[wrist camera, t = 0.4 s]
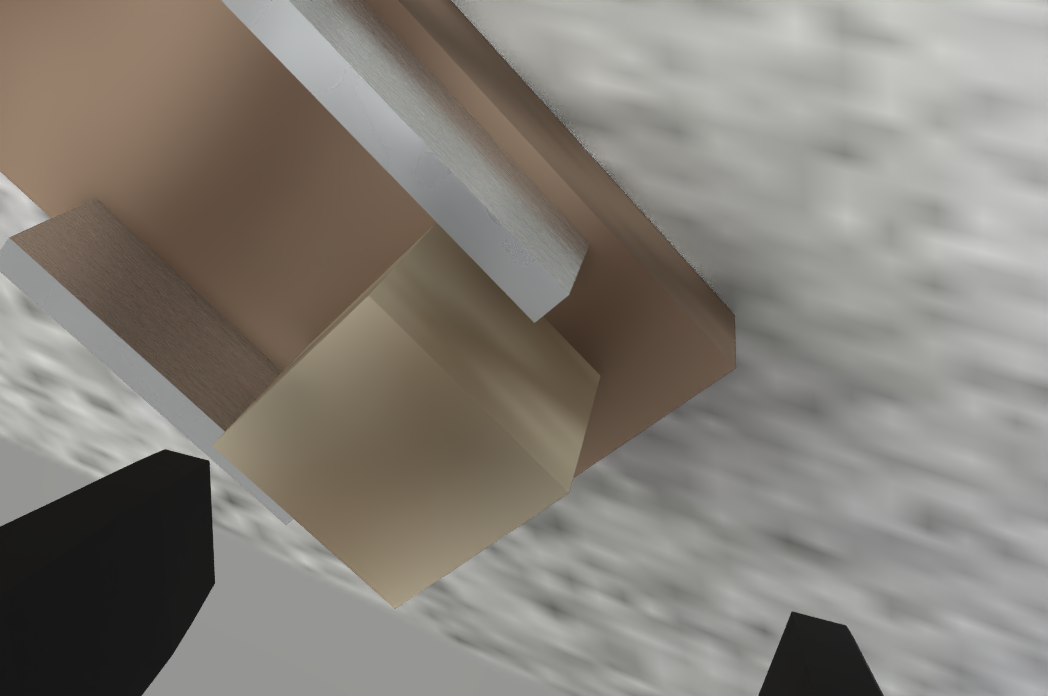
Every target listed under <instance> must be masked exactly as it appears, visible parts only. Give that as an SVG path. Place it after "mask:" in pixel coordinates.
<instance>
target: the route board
mask: <svg viewBox="0 0 1048 696" xmlns="http://www.w3.org/2000/svg"><path fill="white" fill-rule="evenodd" d="M365 1H366V2H367V3H368V4H369V6H370V7H371V8H372V9H373V10H374V11H375V12H376V13H377V14H378V15H379V16H380V17H381V18H382V20H383V21H384V22H385V23H386V24H387V25H388V26H389V27H390V28H391V29H392V30H393V31H394V32H395V34H396V35H397V36H398V37H399V38H400V39H401V40H402V41H403V42H404V43H405V44H406V45H407V46H408V48H409V49H410V50H411V51H412V52H413V53H414V54H415V55H416V56H417V57H418V58H419V59H420V60H421V62H422V63H423V64H424V65H425V66H426V67H427V68H428V69H429V70H430V71H431V72H432V73H433V74H434V76H435V77H436V78H437V79H438V80H439V81H440V82H441V83H442V84H443V85H444V86H445V87H446V88H447V90H448V91H449V92H450V93H451V94H452V95H453V96H454V97H455V98H456V99H457V100H458V101H459V102H460V104H461V105H462V106H463V107H464V108H465V109H466V110H467V111H468V112H469V113H470V114H471V115H472V116H473V118H474V119H475V120H476V121H477V122H478V123H479V124H480V125H481V126H482V127H483V128H484V129H485V130H486V132H487V133H488V134H489V135H490V136H491V137H492V138H493V139H494V140H495V141H496V142H497V143H498V144H499V146H500V147H501V148H502V149H503V150H504V151H505V152H506V153H507V154H508V155H509V156H510V157H511V158H512V160H513V161H514V162H515V163H516V164H517V165H518V166H519V167H520V168H521V169H522V170H523V171H524V172H525V174H526V175H527V176H528V177H529V178H530V179H531V180H532V181H533V182H534V183H535V184H536V185H537V186H538V188H539V189H540V190H541V191H542V192H543V193H544V194H545V195H546V196H547V197H548V198H549V199H550V200H551V202H552V203H553V204H554V205H555V206H556V207H557V208H558V209H559V210H560V211H561V212H562V213H563V214H564V216H565V217H566V218H567V219H568V220H569V221H570V222H571V223H572V224H573V225H574V226H575V227H576V228H577V230H578V231H579V232H580V233H581V234H582V235H583V236H584V237H585V238H586V239H587V240H588V241H589V242H590V244H589V247H588V249H587V252H586V254H585V257H584V259H583V262H582V264H581V267H580V269H579V271H578V274H577V276H576V279H575V281H574V284H573V286H572V289H571V291H570V293H569V295H568V296H567V297H566V298H565V299H563V300H562V301H561V302H560V303H558V304H557V305H556V306H555V307H554V308H552V309H551V310H550V311H549V312H547V313H546V314H545V315H544V316H543V317H544V318H545V319H546V320H547V321H548V322H549V323H550V324H551V325H552V326H553V327H554V328H555V329H556V330H557V331H558V332H559V333H560V334H561V335H562V336H563V337H564V338H565V339H566V341H567V342H568V343H569V344H570V345H571V346H572V347H573V348H574V349H575V350H576V351H577V352H578V353H579V354H580V355H581V356H582V357H583V358H584V359H585V360H586V361H587V362H588V363H589V364H590V365H591V366H592V367H593V368H594V370H595V371H596V372H597V373H598V374H599V375H600V380H599V384H598V387H597V391H596V395H595V398H594V402H593V406H592V410H591V413H590V417H589V421H588V425H587V428H586V432H585V436H584V440H583V443H582V447H581V451H580V454H579V458H578V462H577V466H576V469H575V473H574V477H576V476H577V475H579V474H580V473H581V472H583V471H584V470H586V469H587V468H589V467H590V466H592V465H593V464H595V463H596V462H598V461H599V460H601V459H602V458H604V457H605V456H607V455H608V454H610V453H611V452H613V451H614V450H616V449H617V448H618V447H620V446H621V445H623V444H624V443H626V442H627V441H629V440H630V439H632V438H633V437H635V436H636V435H638V434H639V433H641V432H642V431H644V430H645V429H647V428H648V427H650V426H651V425H652V424H654V423H655V422H657V421H658V420H660V419H661V418H663V417H664V416H666V415H667V414H669V413H670V412H672V411H673V410H675V409H676V408H678V407H679V406H681V405H682V404H684V403H685V402H687V401H688V400H689V399H691V398H692V397H694V396H695V395H697V394H698V393H700V392H701V391H703V390H704V389H706V388H707V387H709V386H710V385H712V384H713V383H715V382H716V381H718V380H719V379H721V378H722V377H723V376H725V375H726V374H728V373H729V372H731V371H732V370H734V369H735V368H736V346H735V315H734V314H733V313H732V312H731V310H730V309H729V308H728V307H727V306H726V305H725V304H724V303H723V302H722V300H721V299H720V298H719V297H718V296H717V295H716V294H715V293H714V292H713V290H712V289H711V288H710V287H709V286H708V285H707V284H706V283H705V282H704V281H703V279H702V278H701V277H700V276H699V275H698V274H697V273H696V272H695V271H694V269H693V268H692V267H691V266H690V265H689V264H688V263H687V262H686V261H685V259H684V258H683V257H682V256H681V255H680V254H679V253H678V252H677V251H676V250H675V248H674V247H673V246H672V245H671V244H670V243H669V242H668V241H667V240H666V238H665V237H664V236H663V235H662V234H661V233H660V232H659V231H658V230H657V228H656V227H655V226H654V225H653V224H652V223H651V222H650V221H649V220H648V218H647V217H646V216H645V215H644V214H643V213H642V212H641V211H640V210H639V209H638V207H637V206H636V205H635V204H634V203H633V202H632V201H631V200H630V199H629V197H628V196H627V195H626V194H625V193H624V192H623V191H622V190H621V189H620V187H619V186H618V185H617V184H616V183H615V182H614V181H613V180H612V179H611V178H610V176H609V175H608V174H607V173H606V172H605V171H604V170H603V169H602V168H601V166H600V165H599V164H598V163H597V162H596V161H595V160H594V159H593V158H592V156H591V155H590V154H589V153H588V152H587V151H586V150H585V149H584V148H583V147H582V145H581V144H580V143H579V142H578V141H577V140H576V139H575V138H574V137H573V135H572V134H571V133H570V132H569V131H568V130H567V129H566V128H565V127H564V125H563V124H562V123H561V122H560V121H559V120H558V119H557V118H556V117H555V116H554V114H553V113H552V112H551V111H550V110H549V109H548V108H547V107H546V106H545V104H544V103H543V102H542V101H541V100H540V99H539V98H538V97H537V96H536V94H535V93H534V92H533V91H532V90H531V89H530V88H529V87H528V86H527V85H526V83H525V82H524V81H523V80H522V79H521V78H520V77H519V76H518V75H517V73H516V72H515V71H514V70H513V69H512V68H511V67H510V66H509V65H508V63H507V62H506V61H505V60H504V59H503V58H502V57H501V56H500V55H499V54H498V52H497V51H496V50H495V49H494V48H493V47H492V46H491V45H490V44H489V42H488V41H487V40H486V39H485V38H484V37H483V36H482V35H481V34H480V32H479V31H478V30H477V29H476V28H475V27H474V26H473V25H472V24H471V22H470V21H469V20H468V19H467V18H466V17H465V16H464V15H463V14H462V13H461V11H460V10H459V9H458V8H457V7H456V6H455V5H454V4H453V3H452V1H451V0H365ZM0 172H1V173H3V174H4V175H5V176H6V177H7V178H8V179H9V180H10V181H11V182H12V183H13V184H15V185H16V186H17V187H18V188H19V189H20V190H21V191H22V192H23V193H24V194H25V195H27V196H28V197H29V198H30V199H31V200H32V201H33V202H34V203H35V204H36V205H37V206H39V207H40V208H41V209H42V210H43V211H44V212H45V213H46V214H47V215H48V216H50V217H51V218H54V217H56V216H58V215H60V214H62V213H65V212H67V211H69V210H71V209H73V208H76V207H78V206H80V205H82V204H84V203H87V202H89V201H91V200H93V199H95V198H97V199H98V200H99V201H100V202H101V203H102V204H103V205H104V206H106V207H107V208H108V209H109V210H110V211H111V212H112V213H113V214H114V215H115V216H116V217H117V218H118V219H119V220H121V221H122V222H123V223H124V224H125V225H126V226H127V227H128V228H129V229H130V230H131V231H132V232H133V233H134V234H136V235H137V236H138V237H139V238H140V239H141V240H142V241H143V242H144V243H145V244H146V245H147V246H148V247H149V248H151V249H152V250H153V251H154V252H155V253H156V254H157V255H158V256H159V257H160V258H161V259H162V260H163V261H164V262H166V263H167V264H168V265H169V266H170V267H171V268H172V269H173V270H174V271H175V272H176V273H177V274H178V275H179V276H181V277H182V278H183V279H184V280H185V281H186V282H187V283H188V284H189V285H190V286H191V287H192V288H193V289H194V290H196V291H197V292H198V293H199V294H200V295H201V296H202V297H203V298H204V299H205V300H206V301H207V302H208V303H209V304H211V305H212V306H213V307H214V308H215V309H216V310H217V311H218V312H219V313H220V314H221V315H222V316H223V317H224V318H226V319H227V320H228V321H229V322H230V323H231V324H232V325H233V326H234V327H235V328H236V329H237V330H238V331H239V332H240V333H242V334H243V335H244V336H245V337H246V338H247V339H248V340H249V341H250V342H251V343H252V344H253V345H254V346H255V347H257V348H258V349H259V350H260V351H261V352H262V353H263V354H264V355H265V356H266V357H267V358H268V359H269V360H270V361H272V362H273V363H274V364H275V365H276V366H277V367H278V368H279V369H280V370H281V371H282V372H283V371H284V370H285V369H286V368H287V367H288V366H289V365H290V364H291V363H292V362H293V361H294V359H295V358H296V357H297V356H298V355H299V354H300V353H301V352H302V351H303V350H304V349H305V348H306V347H307V346H308V345H309V344H310V343H311V342H312V341H313V340H314V339H315V338H316V337H317V336H318V335H319V334H320V333H321V332H322V331H324V330H325V329H326V328H327V327H328V326H329V325H330V324H331V323H332V322H333V321H334V320H335V319H336V318H337V317H338V316H339V315H340V314H341V313H342V312H343V311H344V310H345V309H346V308H347V307H348V306H350V305H351V304H352V303H353V302H354V301H355V300H356V299H357V298H358V297H359V296H360V295H361V294H362V293H363V292H364V291H365V290H366V289H367V288H368V287H369V286H370V285H371V284H372V283H373V282H374V281H376V280H377V279H378V278H379V277H380V276H381V275H382V274H383V273H384V272H385V271H386V270H387V269H388V268H389V267H390V266H391V265H392V264H393V263H394V262H395V261H396V260H397V259H398V258H399V257H400V256H402V255H403V254H404V253H405V252H406V251H407V250H408V249H409V248H410V247H411V246H412V245H413V244H414V243H415V242H416V241H417V240H418V239H419V238H420V237H421V236H422V235H423V234H424V233H425V232H426V231H428V230H429V229H430V228H431V227H432V226H433V225H434V224H435V223H436V221H435V220H434V219H433V218H432V217H431V216H430V215H429V214H428V213H427V212H426V211H425V210H424V209H423V208H422V207H421V206H420V205H419V204H418V203H417V202H416V201H415V199H414V198H413V197H412V196H411V195H410V194H409V193H408V192H407V191H406V190H405V189H404V188H403V187H402V186H401V185H400V184H399V183H398V182H397V181H396V180H395V179H394V178H393V177H392V176H391V175H390V174H389V173H388V172H387V171H386V170H385V169H384V168H383V167H382V166H381V164H380V163H379V162H378V161H377V160H376V159H375V158H374V157H373V156H372V155H371V154H370V153H369V152H368V151H367V150H366V149H365V148H364V147H363V146H362V145H361V144H360V143H359V142H358V141H357V140H356V139H355V138H354V137H353V136H352V135H351V134H350V133H349V132H348V131H347V129H346V128H345V127H344V126H343V125H342V124H341V123H340V122H339V121H338V120H337V119H336V118H335V117H334V116H333V115H332V114H331V113H330V112H329V111H328V110H327V109H326V108H325V107H324V106H323V105H322V104H321V103H320V102H319V101H318V100H317V99H316V98H315V97H314V95H313V94H312V93H311V92H310V91H309V90H308V89H307V88H306V87H305V86H304V85H303V84H302V83H301V82H300V81H299V80H298V79H297V78H296V77H295V76H294V75H293V74H292V73H291V72H290V71H289V70H288V69H287V68H286V67H285V66H284V65H283V64H282V63H281V62H280V60H279V59H278V58H277V57H276V56H275V55H274V54H273V53H272V52H271V51H270V50H269V49H268V48H267V47H266V46H265V45H264V44H263V43H262V42H261V41H260V40H259V39H258V38H257V37H256V36H255V35H254V34H253V33H252V32H251V31H250V30H249V29H248V28H247V27H246V25H245V24H244V23H243V22H242V21H241V20H240V19H239V18H238V17H237V16H236V15H235V14H234V13H233V12H232V11H231V10H230V9H229V8H228V7H227V6H226V5H225V4H224V3H223V2H222V1H221V0H0ZM574 477H573V478H574Z"/></svg>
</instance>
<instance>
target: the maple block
mask: <svg viewBox="0 0 1048 696" xmlns="http://www.w3.org/2000/svg"><path fill="white" fill-rule="evenodd" d="M599 380H600V375H599V374H598V373H597V372H596V371H595V370H594V368H593V367H592V366H591V365H590V364H589V363H588V362H587V361H586V360H585V359H584V358H583V357H582V356H581V355H580V354H579V353H578V352H577V351H576V350H575V349H574V348H573V347H572V346H571V345H570V344H569V343H568V342H567V341H566V339H565V338H564V337H563V336H562V335H561V334H560V333H559V332H558V331H557V330H556V329H555V328H554V327H553V326H552V325H551V324H550V323H549V322H548V321H547V320H546V319H545V318H544V317H543V316H542V317H541V318H540V319H539V320H538V321H536V322H535V323H534V322H533V321H532V320H531V319H530V318H529V317H528V316H527V315H526V314H525V313H524V312H523V311H522V310H521V309H520V308H519V307H518V306H517V305H516V303H515V302H514V301H513V300H512V299H511V298H510V297H509V296H508V295H507V294H506V293H505V292H504V291H503V290H502V289H501V288H500V287H499V286H498V285H497V284H496V283H495V282H494V281H493V280H492V279H491V278H490V277H489V276H488V275H487V274H486V273H485V272H484V271H483V270H482V268H481V267H480V266H479V265H478V264H477V263H476V262H475V261H474V260H473V259H472V258H471V257H470V256H469V255H468V254H467V253H466V252H465V251H464V250H463V249H462V248H461V247H460V246H459V245H458V244H457V243H456V242H455V241H454V240H453V239H452V238H451V237H450V236H449V235H448V233H447V232H446V231H445V230H444V229H443V228H442V227H441V226H440V225H439V224H438V223H437V222H436V223H435V224H434V225H433V226H432V227H431V228H430V229H429V230H428V231H426V232H425V233H424V234H423V235H422V236H421V237H420V238H419V239H418V240H417V241H416V242H415V243H414V244H413V245H412V246H411V247H410V248H409V249H408V250H407V251H406V252H405V253H404V254H403V255H402V256H400V257H399V258H398V259H397V260H396V261H395V262H394V263H393V264H392V265H391V266H390V267H389V268H388V269H387V270H386V271H385V272H384V273H383V274H382V275H381V276H380V277H379V278H378V279H377V280H376V281H374V282H373V283H372V284H371V285H370V286H369V287H368V288H367V289H366V290H365V291H364V292H363V293H362V294H361V295H360V296H359V297H358V298H357V299H356V300H355V301H354V302H353V303H352V304H351V305H350V306H348V307H347V308H346V309H345V310H344V311H343V312H342V313H341V314H340V315H339V316H338V317H337V318H336V319H335V320H334V321H333V322H332V323H331V324H330V325H329V326H328V327H327V328H326V329H325V330H324V331H322V332H321V333H320V334H319V335H318V336H317V337H316V338H315V339H314V340H313V341H312V342H311V343H310V344H309V345H308V346H307V347H306V348H305V349H304V350H303V351H302V352H301V353H300V354H299V355H298V356H297V357H296V358H295V359H294V361H293V362H292V363H291V364H290V365H289V366H288V367H287V368H286V369H285V370H284V371H283V372H282V373H281V374H280V375H279V376H278V377H277V378H276V379H275V380H274V381H273V382H272V383H271V384H270V385H269V386H268V388H267V389H266V390H265V391H264V392H263V393H262V394H261V395H260V396H259V397H258V398H257V399H256V400H255V401H254V402H253V403H252V404H251V405H250V406H249V407H248V408H247V409H246V410H245V411H244V412H243V413H242V415H241V416H240V417H239V418H238V419H237V420H236V421H235V422H234V423H233V424H232V425H231V426H230V427H229V428H228V429H227V430H226V431H225V432H224V433H223V434H222V435H221V436H220V437H219V438H218V439H217V440H216V442H215V443H214V444H213V445H212V446H213V447H214V448H215V449H216V450H217V451H218V452H219V453H221V454H222V455H223V456H224V457H225V458H226V459H227V460H228V461H230V462H231V463H232V464H233V465H234V466H235V467H236V468H237V469H238V470H240V471H241V472H242V473H243V474H244V475H245V476H246V477H247V478H249V479H250V480H251V481H252V482H253V483H254V484H255V485H256V486H258V487H259V488H260V489H261V490H262V491H263V492H264V493H265V494H267V495H268V496H269V497H270V498H271V499H272V500H273V501H274V502H276V503H277V504H278V505H279V506H280V507H281V508H282V509H283V510H284V511H286V512H287V513H288V514H289V515H290V516H291V517H292V518H293V519H295V520H296V521H297V522H298V523H299V524H300V525H301V526H302V527H304V528H305V529H306V530H307V531H308V532H309V533H310V534H311V535H313V536H314V537H315V538H316V539H317V540H318V541H319V542H320V543H322V544H323V545H324V546H325V547H326V548H327V549H328V550H329V551H331V552H332V553H333V554H334V555H335V556H336V557H337V558H338V559H339V560H341V561H342V562H343V563H344V564H345V565H346V566H347V567H348V568H350V569H351V570H352V571H353V572H354V573H355V574H356V575H357V576H359V577H360V578H361V579H362V580H363V581H364V582H365V583H366V584H368V585H369V586H370V587H371V588H372V589H373V590H374V591H375V592H377V593H378V594H379V595H380V596H381V597H382V598H383V599H384V600H385V601H387V602H388V603H389V604H390V605H391V606H392V607H393V608H394V609H396V608H397V607H399V606H400V605H402V604H403V603H405V602H406V601H408V600H409V599H411V598H412V597H414V596H415V595H417V594H418V593H420V592H421V591H423V590H424V589H426V588H427V587H429V586H430V585H432V584H433V583H435V582H436V581H438V580H439V579H441V578H442V577H444V576H445V575H447V574H448V573H450V572H451V571H453V570H454V569H456V568H457V567H459V566H460V565H462V564H463V563H465V562H466V561H468V560H469V559H471V558H472V557H474V556H475V555H477V554H478V553H480V552H481V551H483V550H484V549H486V548H487V547H489V546H490V545H492V544H493V543H495V542H496V541H498V540H499V539H501V538H502V537H504V536H505V535H507V534H508V533H510V532H511V531H513V530H514V529H516V528H517V527H519V526H520V525H522V524H523V523H525V522H526V521H528V520H529V519H531V518H532V517H534V516H535V515H537V514H538V513H540V512H541V511H543V510H544V509H546V508H547V507H549V506H550V505H552V504H553V503H555V502H556V501H558V500H559V499H561V498H562V497H564V496H565V495H567V494H568V493H569V492H570V488H571V484H572V481H573V477H574V473H575V469H576V466H577V462H578V458H579V454H580V451H581V447H582V443H583V440H584V436H585V432H586V428H587V425H588V421H589V417H590V413H591V410H592V406H593V402H594V398H595V395H596V391H597V387H598V384H599Z"/></svg>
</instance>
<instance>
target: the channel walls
mask: <svg viewBox="0 0 1048 696" xmlns="http://www.w3.org/2000/svg"><path fill="white" fill-rule="evenodd" d="M221 1H222V2H223V3H224V4H225V5H226V6H227V7H228V8H229V9H230V10H231V11H232V12H233V13H234V14H235V15H236V16H237V17H238V18H239V19H240V20H241V21H242V22H243V23H244V24H245V25H246V27H247V28H248V29H249V30H250V31H251V32H252V33H253V34H254V35H255V36H256V37H257V38H258V39H259V40H260V41H261V42H262V43H263V44H264V45H265V46H266V47H267V48H268V49H269V50H270V51H271V52H272V53H273V54H274V55H275V56H276V57H277V58H278V59H279V60H280V62H281V63H282V64H283V65H284V66H285V67H286V68H287V69H288V70H289V71H290V72H291V73H292V74H293V75H294V76H295V77H296V78H297V79H298V80H299V81H300V82H301V83H302V84H303V85H304V86H305V87H306V88H307V89H308V90H309V91H310V92H311V93H312V94H313V95H314V97H315V98H316V99H317V100H318V101H319V102H320V103H321V104H322V105H323V106H324V107H325V108H326V109H327V110H328V111H329V112H330V113H331V114H332V115H333V116H334V117H335V118H336V119H337V120H338V121H339V122H340V123H341V124H342V125H343V126H344V127H345V128H346V129H347V131H348V132H349V133H350V134H351V135H352V136H353V137H354V138H355V139H356V140H357V141H358V142H359V143H360V144H361V145H362V146H363V147H364V148H365V149H366V150H367V151H368V152H369V153H370V154H371V155H372V156H373V157H374V158H375V159H376V160H377V161H378V162H379V163H380V164H381V166H382V167H383V168H384V169H385V170H386V171H387V172H388V173H389V174H390V175H391V176H392V177H393V178H394V179H395V180H396V181H397V182H398V183H399V184H400V185H401V186H402V187H403V188H404V189H405V190H406V191H407V192H408V193H409V194H410V195H411V196H412V197H413V198H414V199H415V201H416V202H417V203H418V204H419V205H420V206H421V207H422V208H423V209H424V210H425V211H426V212H427V213H428V214H429V215H430V216H431V217H432V218H433V219H434V220H435V221H436V222H437V223H438V224H439V225H440V226H441V227H442V228H443V229H444V230H445V231H446V232H447V233H448V235H449V236H450V237H451V238H452V239H453V240H454V241H455V242H456V243H457V244H458V245H459V246H460V247H461V248H462V249H463V250H464V251H465V252H466V253H467V254H468V255H469V256H470V257H471V258H472V259H473V260H474V261H475V262H476V263H477V264H478V265H479V266H480V267H481V268H482V270H483V271H484V272H485V273H486V274H487V275H488V276H489V277H490V278H491V279H492V280H493V281H494V282H495V283H496V284H497V285H498V286H499V287H500V288H501V289H502V290H503V291H504V292H505V293H506V294H507V295H508V296H509V297H510V298H511V299H512V300H513V301H514V302H515V303H516V305H517V306H518V307H519V308H520V309H521V310H522V311H523V312H524V313H525V314H526V315H527V316H528V317H529V318H530V319H531V320H532V321H533V322H534V323H535V322H536V321H538V320H539V319H540V318H541V317H542V316H544V315H545V314H546V313H547V312H549V311H550V310H551V309H552V308H554V307H555V306H556V305H557V304H558V303H560V302H561V301H562V300H563V299H565V298H566V297H567V296H568V295H569V293H570V291H571V289H572V286H573V284H574V281H575V279H576V276H577V274H578V271H579V269H580V267H581V264H582V262H583V259H584V257H585V254H586V252H587V249H588V247H589V244H590V242H589V241H588V240H587V239H586V238H585V237H584V236H583V235H582V234H581V233H580V232H579V231H578V230H577V228H576V227H575V226H574V225H573V224H572V223H571V222H570V221H569V220H568V219H567V218H566V217H565V216H564V214H563V213H562V212H561V211H560V210H559V209H558V208H557V207H556V206H555V205H554V204H553V203H552V202H551V200H550V199H549V198H548V197H547V196H546V195H545V194H544V193H543V192H542V191H541V190H540V189H539V188H538V186H537V185H536V184H535V183H534V182H533V181H532V180H531V179H530V178H529V177H528V176H527V175H526V174H525V172H524V171H523V170H522V169H521V168H520V167H519V166H518V165H517V164H516V163H515V162H514V161H513V160H512V158H511V157H510V156H509V155H508V154H507V153H506V152H505V151H504V150H503V149H502V148H501V147H500V146H499V144H498V143H497V142H496V141H495V140H494V139H493V138H492V137H491V136H490V135H489V134H488V133H487V132H486V130H485V129H484V128H483V127H482V126H481V125H480V124H479V123H478V122H477V121H476V120H475V119H474V118H473V116H472V115H471V114H470V113H469V112H468V111H467V110H466V109H465V108H464V107H463V106H462V105H461V104H460V102H459V101H458V100H457V99H456V98H455V97H454V96H453V95H452V94H451V93H450V92H449V91H448V90H447V88H446V87H445V86H444V85H443V84H442V83H441V82H440V81H439V80H438V79H437V78H436V77H435V76H434V74H433V73H432V72H431V71H430V70H429V69H428V68H427V67H426V66H425V65H424V64H423V63H422V62H421V60H420V59H419V58H418V57H417V56H416V55H415V54H414V53H413V52H412V51H411V50H410V49H409V48H408V46H407V45H406V44H405V43H404V42H403V41H402V40H401V39H400V38H399V37H398V36H397V35H396V34H395V32H394V31H393V30H392V29H391V28H390V27H389V26H388V25H387V24H386V23H385V22H384V21H383V20H382V18H381V17H380V16H379V15H378V14H377V13H376V12H375V11H374V10H373V9H372V8H371V7H370V6H369V4H368V3H367V2H366V1H365V0H221ZM0 272H1V273H2V274H3V275H4V276H6V277H7V278H8V279H9V280H10V281H11V282H12V283H14V284H15V285H16V286H17V287H18V288H19V289H20V290H21V291H23V292H24V293H25V294H26V295H27V296H28V297H29V298H30V299H32V300H33V301H34V302H35V303H36V304H37V305H38V306H39V307H41V308H42V309H43V310H44V311H45V312H46V313H47V314H48V315H50V316H51V317H52V318H53V319H54V320H55V321H56V322H57V323H59V324H60V325H61V326H62V327H63V328H64V329H65V330H67V331H68V332H69V333H70V334H71V335H72V336H73V337H74V338H76V339H77V340H78V341H79V342H80V343H81V344H82V345H83V346H85V347H86V348H87V349H88V350H89V351H90V352H91V353H92V354H94V355H95V356H96V357H97V358H98V359H99V360H100V361H101V362H103V363H104V364H105V365H106V366H107V367H108V368H109V369H110V370H112V371H113V372H114V373H115V374H116V375H117V376H118V377H119V378H121V379H122V380H123V381H124V382H125V383H126V384H127V385H129V386H130V387H131V388H132V389H133V390H134V391H135V392H136V393H138V394H139V395H140V396H141V397H142V398H143V399H144V400H145V401H147V402H148V403H149V404H150V405H151V406H152V407H153V408H154V409H156V410H157V411H158V412H159V413H160V414H161V415H162V416H163V417H165V418H166V419H167V420H168V421H169V422H170V423H171V424H172V425H174V426H175V427H176V428H177V429H178V430H179V431H180V432H182V433H183V434H184V435H185V436H186V437H187V438H188V439H189V440H191V441H192V442H193V443H194V444H195V445H196V446H197V447H198V448H200V449H201V450H202V451H203V452H204V453H205V454H206V455H207V456H209V457H210V458H211V459H212V460H213V461H214V462H215V463H216V464H218V465H219V466H220V467H221V468H222V469H223V470H224V471H225V472H227V473H228V474H229V475H230V476H231V477H232V478H233V479H234V480H236V481H237V482H238V483H239V484H240V485H241V486H242V487H244V488H245V489H246V490H247V491H248V492H249V493H250V494H251V495H253V496H254V497H255V498H256V499H257V500H258V501H259V502H260V503H262V504H263V505H264V506H265V507H266V508H267V509H268V510H269V511H271V512H272V513H273V514H274V515H275V516H276V517H277V518H278V519H280V520H281V521H282V522H283V523H284V524H285V525H287V524H288V523H289V522H290V521H292V520H293V518H292V517H291V516H290V515H289V514H288V513H287V512H286V511H284V510H283V509H282V508H281V507H280V506H279V505H278V504H277V503H276V502H274V501H273V500H272V499H271V498H270V497H269V496H268V495H267V494H265V493H264V492H263V491H262V490H261V489H260V488H259V487H258V486H256V485H255V484H254V483H253V482H252V481H251V480H250V479H249V478H247V477H246V476H245V475H244V474H243V473H242V472H241V471H240V470H238V469H237V468H236V467H235V466H234V465H233V464H232V463H231V462H230V461H228V460H227V459H226V458H225V457H224V456H223V455H222V454H221V453H219V452H218V451H217V450H216V449H215V448H214V447H213V446H212V445H213V444H214V443H215V442H216V440H217V439H218V438H219V437H220V436H221V435H222V434H223V433H224V432H225V431H226V430H227V429H228V428H229V427H230V426H231V425H232V424H233V423H234V422H235V421H236V420H237V419H238V418H239V417H240V416H241V415H242V413H243V412H244V411H245V410H246V409H247V408H248V407H249V406H250V405H251V404H252V403H253V402H254V401H255V400H256V399H257V398H258V397H259V396H260V395H261V394H262V393H263V392H264V391H265V390H266V389H267V388H268V386H269V385H270V384H271V383H272V382H273V381H274V380H275V379H276V378H277V377H278V376H279V375H280V374H281V373H282V371H281V370H280V369H279V368H278V367H277V366H276V365H275V364H274V363H273V362H272V361H270V360H269V359H268V358H267V357H266V356H265V355H264V354H263V353H262V352H261V351H260V350H259V349H258V348H257V347H255V346H254V345H253V344H252V343H251V342H250V341H249V340H248V339H247V338H246V337H245V336H244V335H243V334H242V333H240V332H239V331H238V330H237V329H236V328H235V327H234V326H233V325H232V324H231V323H230V322H229V321H228V320H227V319H226V318H224V317H223V316H222V315H221V314H220V313H219V312H218V311H217V310H216V309H215V308H214V307H213V306H212V305H211V304H209V303H208V302H207V301H206V300H205V299H204V298H203V297H202V296H201V295H200V294H199V293H198V292H197V291H196V290H194V289H193V288H192V287H191V286H190V285H189V284H188V283H187V282H186V281H185V280H184V279H183V278H182V277H181V276H179V275H178V274H177V273H176V272H175V271H174V270H173V269H172V268H171V267H170V266H169V265H168V264H167V263H166V262H164V261H163V260H162V259H161V258H160V257H159V256H158V255H157V254H156V253H155V252H154V251H153V250H152V249H151V248H149V247H148V246H147V245H146V244H145V243H144V242H143V241H142V240H141V239H140V238H139V237H138V236H137V235H136V234H134V233H133V232H132V231H131V230H130V229H129V228H128V227H127V226H126V225H125V224H124V223H123V222H122V221H121V220H119V219H118V218H117V217H116V216H115V215H114V214H113V213H112V212H111V211H110V210H109V209H108V208H107V207H106V206H104V205H103V204H102V203H101V202H100V201H99V200H98V199H97V198H95V199H93V200H91V201H89V202H87V203H84V204H82V205H80V206H78V207H76V208H73V209H71V210H69V211H67V212H65V213H62V214H60V215H58V216H56V217H54V218H51V219H49V220H47V221H45V222H43V223H40V224H38V225H36V226H34V227H32V228H29V229H27V230H25V231H23V232H21V233H18V234H16V235H14V236H12V237H10V238H9V239H8V240H7V242H6V243H5V244H4V246H3V247H2V249H1V250H0Z"/></svg>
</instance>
